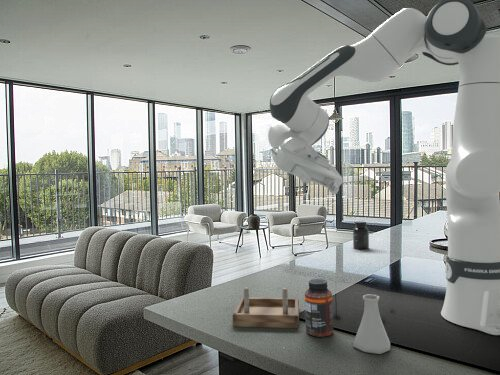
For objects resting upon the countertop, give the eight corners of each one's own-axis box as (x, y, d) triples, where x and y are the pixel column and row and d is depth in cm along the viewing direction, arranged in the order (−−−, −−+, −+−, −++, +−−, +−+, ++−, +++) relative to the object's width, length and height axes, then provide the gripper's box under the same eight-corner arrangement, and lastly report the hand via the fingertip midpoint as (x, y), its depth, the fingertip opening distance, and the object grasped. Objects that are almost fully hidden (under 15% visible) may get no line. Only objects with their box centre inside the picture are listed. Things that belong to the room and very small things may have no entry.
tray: (299, 309, 98) (298, 277, 97) (298, 328, 86) (297, 291, 85) (241, 308, 100) (240, 276, 99) (232, 326, 88) (231, 290, 87)
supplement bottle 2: (350, 248, 175) (349, 221, 174) (361, 246, 178) (361, 220, 177) (360, 250, 169) (359, 223, 168) (372, 248, 171) (371, 222, 171)
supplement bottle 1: (329, 326, 86) (328, 276, 86) (336, 337, 80) (335, 284, 80) (303, 327, 86) (302, 277, 86) (308, 338, 80) (307, 285, 80)
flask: (361, 335, 81) (361, 289, 81) (396, 344, 76) (395, 295, 76) (346, 348, 75) (345, 298, 75) (383, 358, 71) (382, 305, 70)
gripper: (274, 134, 96) (296, 162, 86) (332, 159, 107) (357, 187, 96) (262, 155, 99) (281, 184, 88) (319, 177, 109) (343, 206, 98)
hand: (321, 186), depth 92 cm, fingers open, 8 cm apart
